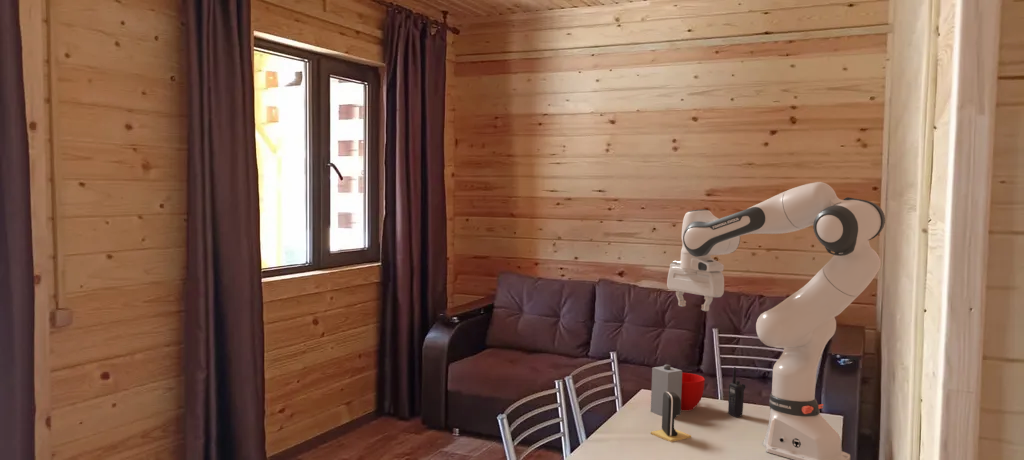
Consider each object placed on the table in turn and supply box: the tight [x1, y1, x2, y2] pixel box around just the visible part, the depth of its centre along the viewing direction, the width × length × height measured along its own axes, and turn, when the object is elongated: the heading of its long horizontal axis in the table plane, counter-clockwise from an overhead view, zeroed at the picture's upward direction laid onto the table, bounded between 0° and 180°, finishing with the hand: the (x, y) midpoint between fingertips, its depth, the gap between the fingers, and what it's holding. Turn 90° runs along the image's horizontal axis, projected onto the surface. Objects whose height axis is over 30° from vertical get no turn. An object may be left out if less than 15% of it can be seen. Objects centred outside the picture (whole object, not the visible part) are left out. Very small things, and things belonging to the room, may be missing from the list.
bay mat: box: [650, 428, 692, 443], centre depth 215 cm, size 8×8×1 cm
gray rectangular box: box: [650, 364, 683, 417], centre depth 237 cm, size 7×6×15 cm
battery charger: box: [661, 392, 682, 436], centre depth 215 cm, size 7×4×11 cm, turn 4°
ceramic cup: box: [681, 372, 706, 412], centre depth 245 cm, size 13×17×10 cm
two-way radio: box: [727, 366, 746, 418], centre depth 237 cm, size 6×4×15 cm
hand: (693, 308), depth 230 cm, fingers open, 8 cm apart
